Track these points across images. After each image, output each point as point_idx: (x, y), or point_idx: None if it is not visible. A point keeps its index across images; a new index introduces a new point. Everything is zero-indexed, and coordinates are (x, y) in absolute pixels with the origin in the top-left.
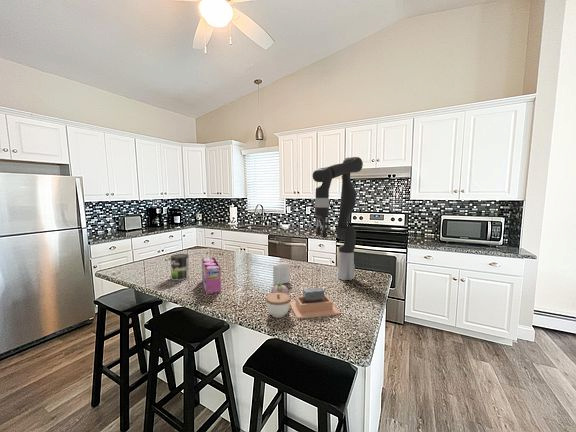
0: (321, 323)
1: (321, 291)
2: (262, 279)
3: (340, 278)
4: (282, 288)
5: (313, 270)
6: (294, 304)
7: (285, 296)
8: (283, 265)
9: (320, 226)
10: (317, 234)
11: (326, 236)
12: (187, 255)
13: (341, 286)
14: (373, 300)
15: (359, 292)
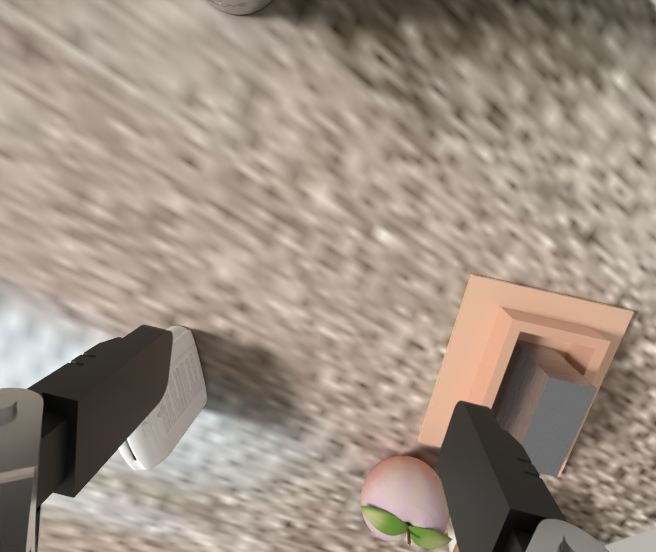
0: (637, 416)
1: (589, 403)
2: None
3: (248, 10)
4: (436, 526)
5: (24, 84)
6: None
7: None
8: (148, 420)
9: (27, 463)
10: (159, 397)
11: (492, 415)
12: None
13: (352, 86)
14: (612, 43)
15: (481, 40)
